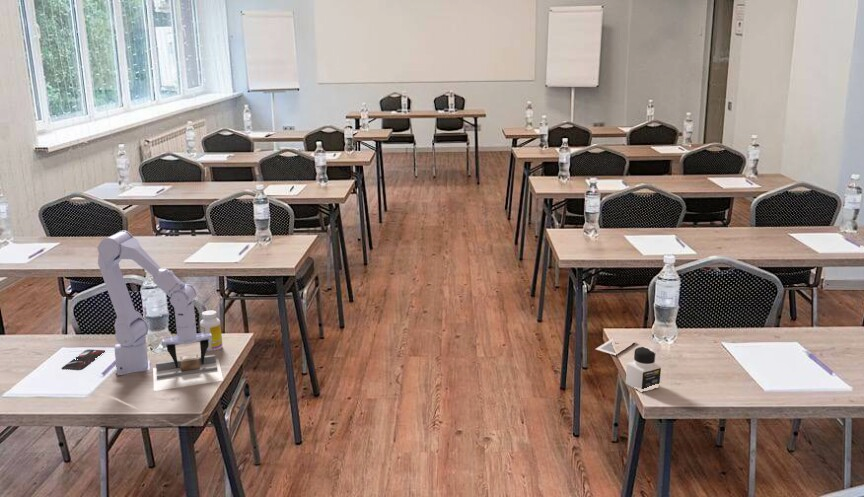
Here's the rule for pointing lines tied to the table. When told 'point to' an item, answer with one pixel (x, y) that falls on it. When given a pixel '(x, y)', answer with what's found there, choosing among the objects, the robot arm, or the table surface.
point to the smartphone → (83, 359)
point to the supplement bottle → (211, 329)
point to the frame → (189, 362)
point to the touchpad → (607, 347)
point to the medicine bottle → (643, 369)
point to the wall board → (186, 374)
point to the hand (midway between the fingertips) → (189, 364)
